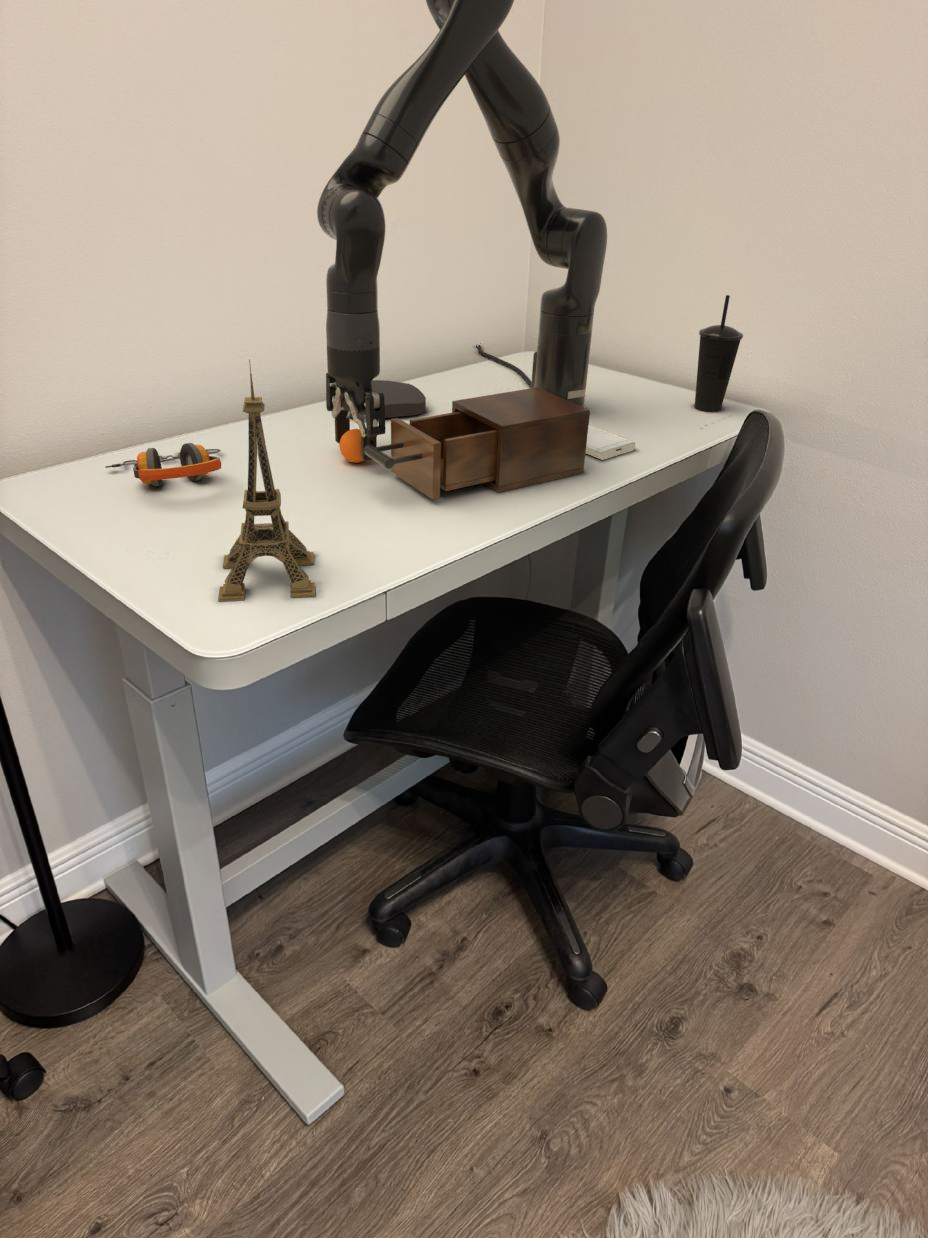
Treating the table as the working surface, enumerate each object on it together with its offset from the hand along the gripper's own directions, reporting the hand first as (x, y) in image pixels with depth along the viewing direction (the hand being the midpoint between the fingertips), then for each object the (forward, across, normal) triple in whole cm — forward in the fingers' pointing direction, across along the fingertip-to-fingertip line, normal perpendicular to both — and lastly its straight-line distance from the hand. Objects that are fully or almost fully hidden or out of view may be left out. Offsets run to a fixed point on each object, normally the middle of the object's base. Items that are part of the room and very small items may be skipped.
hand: (355, 450), depth 135 cm
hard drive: (+2, -11, -37) cm, 39 cm away
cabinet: (+2, -14, -20) cm, 25 cm away
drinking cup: (+2, -6, -70) cm, 70 cm away
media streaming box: (+2, +22, -16) cm, 27 cm away
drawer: (+1, -14, -6) cm, 15 cm away
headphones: (+2, +6, +26) cm, 27 cm away
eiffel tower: (+2, -28, +26) cm, 38 cm away
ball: (-1, 0, 0) cm, 1 cm away
